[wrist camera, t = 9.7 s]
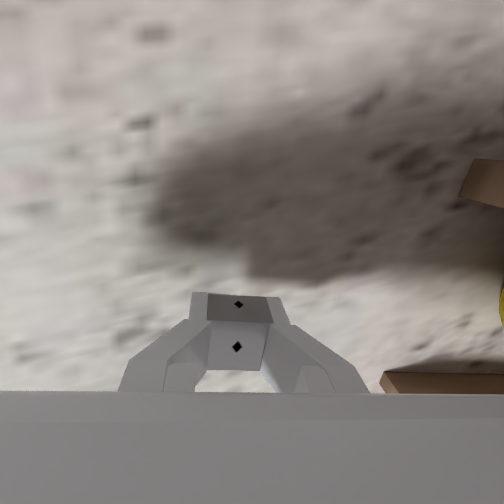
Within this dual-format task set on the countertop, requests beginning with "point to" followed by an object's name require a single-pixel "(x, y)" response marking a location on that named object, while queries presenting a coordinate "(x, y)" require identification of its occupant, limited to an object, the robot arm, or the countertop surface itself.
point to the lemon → (501, 306)
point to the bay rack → (497, 194)
